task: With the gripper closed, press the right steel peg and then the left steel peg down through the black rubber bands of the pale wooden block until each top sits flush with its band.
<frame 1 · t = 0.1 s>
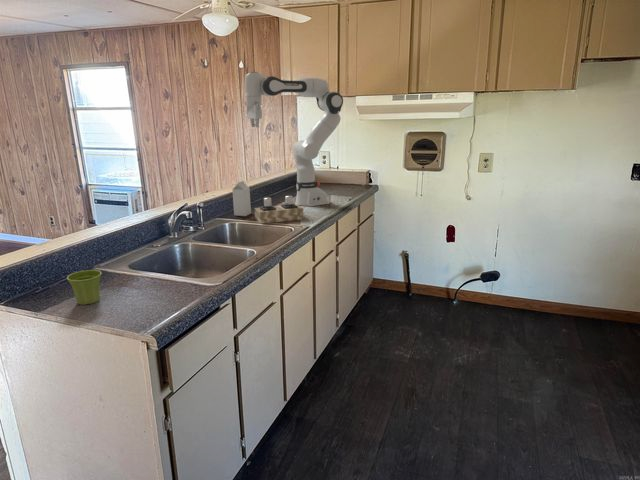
hand: (255, 127, 254), 48 cm above the worktop, tool pointing down, fingers open, 8 cm apart
plant pot: (88, 301, 136), on the worktop
peg b: (289, 202, 239), point 9 cm above the worktop, slide at 5.0 cm
milk carton: (242, 215, 250), on the worktop
peg a: (267, 204, 234), point 9 cm above the worktop, slide at 5.0 cm
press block: (279, 218, 239), on the worktop
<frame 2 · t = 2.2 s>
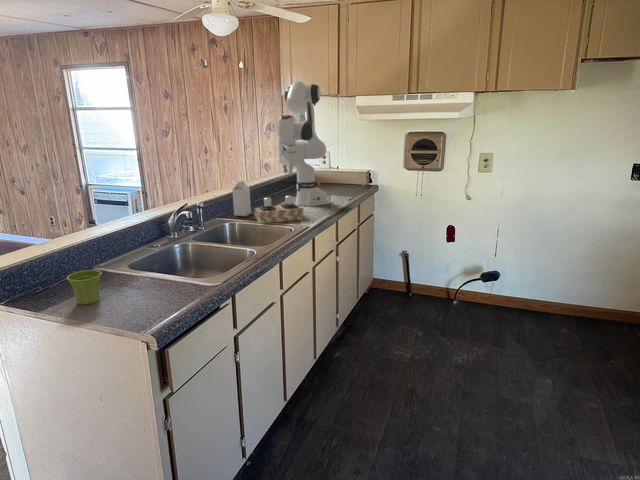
hand: (288, 173, 234), 24 cm above the worktop, tool pointing down, fingers open, 7 cm apart
nothing on the worktop moved.
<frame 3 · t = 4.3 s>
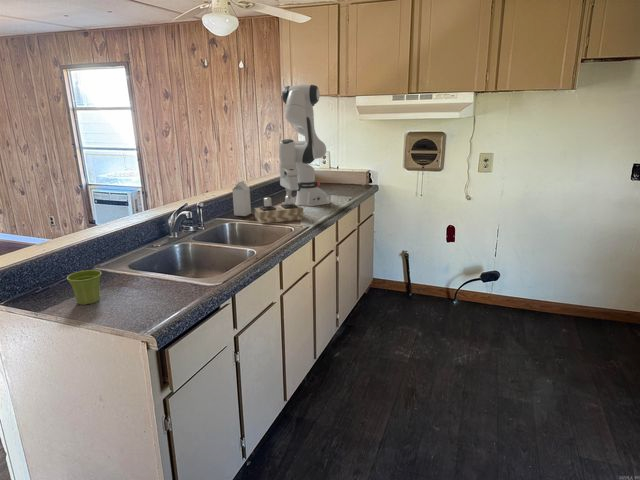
hand: (288, 196, 238), 12 cm above the worktop, tool pointing down, fingers closed, pressing on peg b
peg b: (289, 202, 239), point 9 cm above the worktop, slide at 5.0 cm, touching gripper
everything else where it was.
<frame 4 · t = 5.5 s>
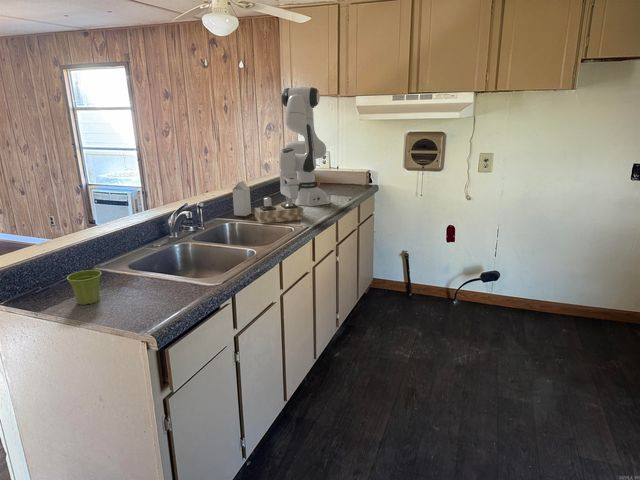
hand: (289, 204, 239), 7 cm above the worktop, tool pointing down, fingers closed, pressing on peg b
peg b: (289, 210, 240), point 4 cm above the worktop, slide at 0.4 cm, touching gripper
everything else where it was.
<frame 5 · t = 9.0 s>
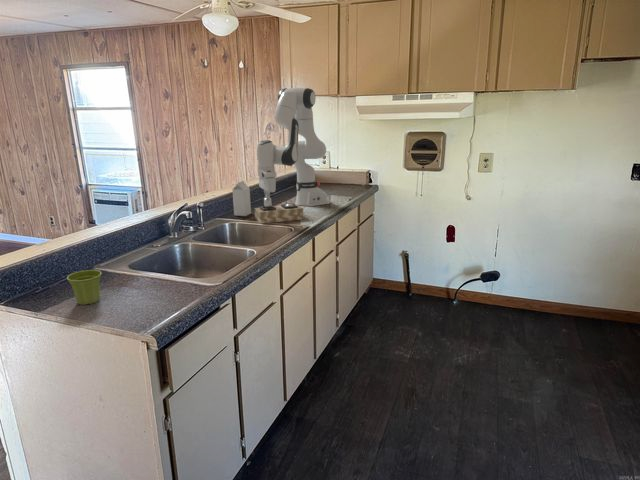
hand: (267, 198, 233), 12 cm above the worktop, tool pointing down, fingers closed, pressing on peg a
peg b: (289, 210, 240), point 4 cm above the worktop, slide at 0.4 cm
peg a: (267, 204, 234), point 8 cm above the worktop, slide at 4.9 cm, touching gripper
everything else where it was.
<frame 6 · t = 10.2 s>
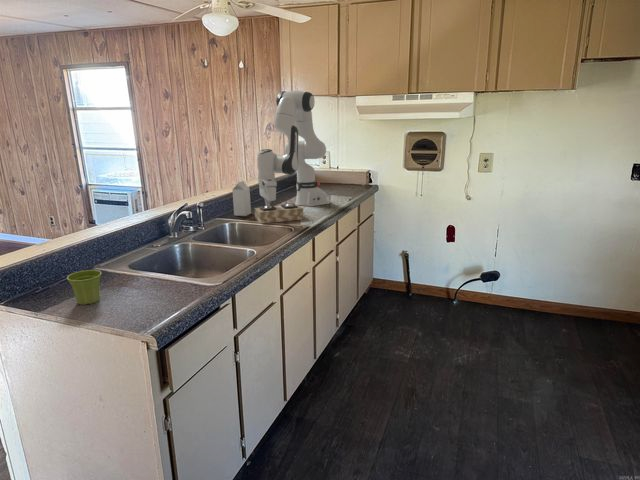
hand: (267, 206, 235), 7 cm above the worktop, tool pointing down, fingers closed, pressing on peg a
peg a: (268, 212, 236), point 4 cm above the worktop, slide at 0.4 cm, touching gripper
everything else where it was.
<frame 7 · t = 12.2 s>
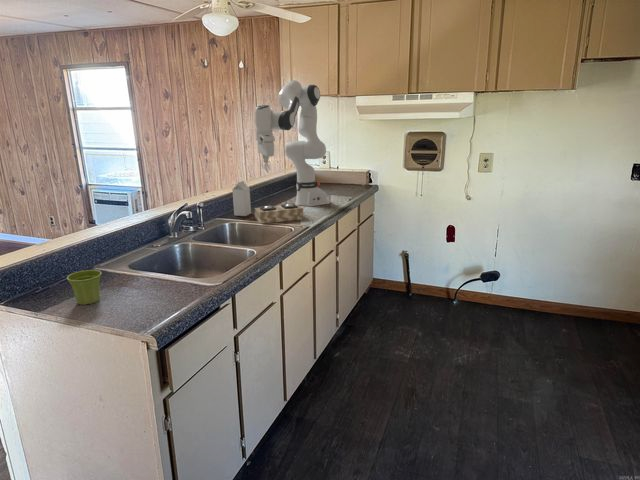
hand: (266, 162, 239), 29 cm above the worktop, tool pointing down, fingers closed
peg a: (268, 212, 236), point 4 cm above the worktop, slide at 0.4 cm
everything else where it was.
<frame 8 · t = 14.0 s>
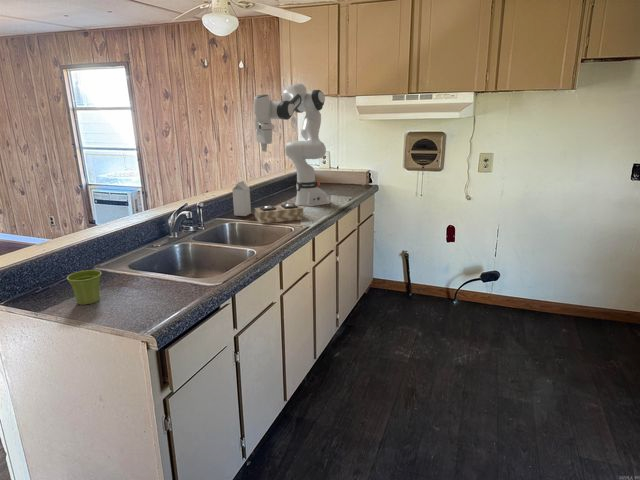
hand: (264, 151, 244), 35 cm above the worktop, tool pointing down, fingers closed
nothing on the worktop moved.
at the end: peg b slide at 0.4 cm; peg a slide at 0.4 cm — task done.
